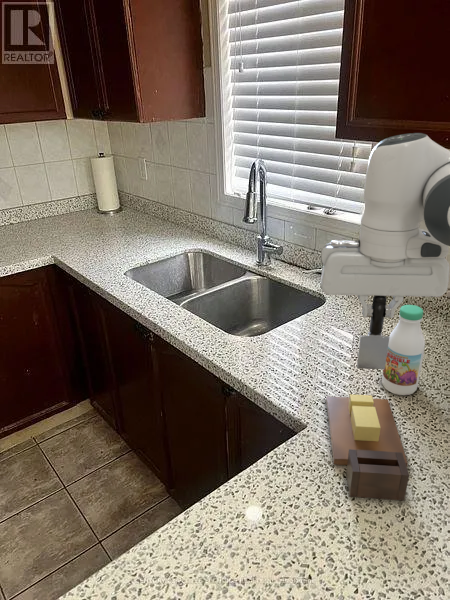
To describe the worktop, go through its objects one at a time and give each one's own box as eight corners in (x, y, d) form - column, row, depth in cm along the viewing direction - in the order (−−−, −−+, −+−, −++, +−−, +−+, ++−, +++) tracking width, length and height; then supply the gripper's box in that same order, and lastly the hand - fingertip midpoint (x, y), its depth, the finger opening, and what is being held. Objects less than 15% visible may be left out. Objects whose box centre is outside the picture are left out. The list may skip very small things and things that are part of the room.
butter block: (373, 420, 91) (375, 406, 89) (378, 441, 85) (380, 427, 84) (350, 419, 91) (351, 405, 90) (354, 440, 86) (356, 426, 84)
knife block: (397, 477, 80) (402, 452, 77) (404, 500, 75) (409, 475, 73) (346, 473, 81) (348, 448, 78) (349, 496, 76) (352, 471, 74)
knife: (383, 365, 84) (394, 290, 77) (385, 372, 82) (397, 296, 75) (356, 364, 84) (364, 290, 77) (357, 371, 82) (366, 295, 76)
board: (387, 404, 97) (387, 399, 96) (406, 469, 81) (407, 463, 80) (326, 401, 99) (326, 396, 98) (333, 464, 83) (334, 458, 82)
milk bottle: (387, 372, 108) (398, 297, 99) (420, 382, 104) (435, 306, 95) (376, 388, 102) (387, 311, 93) (411, 400, 98) (426, 321, 89)
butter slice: (370, 408, 94) (371, 395, 92) (371, 415, 92) (373, 402, 90) (348, 407, 95) (349, 394, 93) (349, 414, 93) (351, 401, 91)
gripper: (323, 246, 71) (318, 323, 77) (460, 247, 68) (443, 326, 74) (320, 234, 76) (316, 306, 82) (446, 234, 74) (432, 308, 80)
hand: (377, 316), depth 78 cm, fingers closed on knife, 2 cm apart
